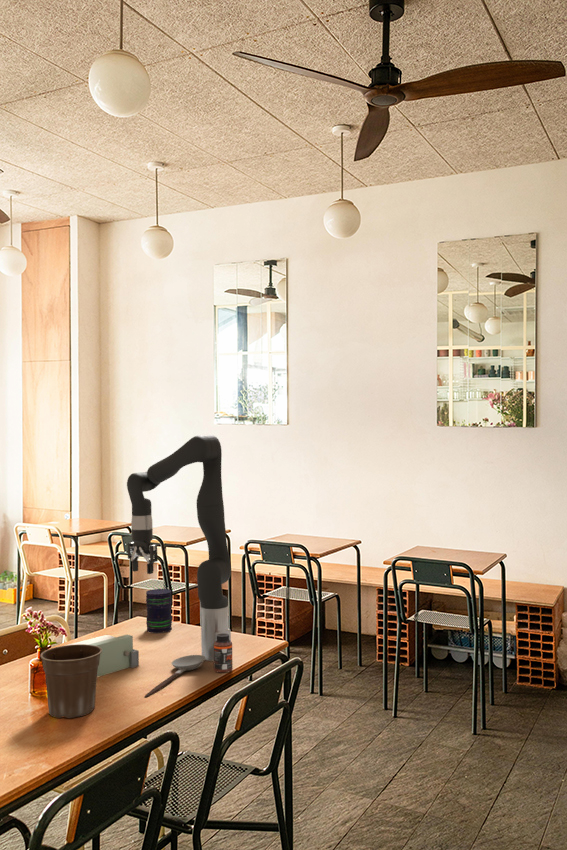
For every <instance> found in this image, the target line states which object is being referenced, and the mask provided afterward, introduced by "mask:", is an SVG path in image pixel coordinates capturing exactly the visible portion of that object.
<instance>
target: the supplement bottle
mask: <svg viewBox="0 0 567 850" xmlns="http://www.w3.org/2000/svg"><path fill="white" fill-rule="evenodd" d="M213 670H214V672H216V673H221V674H223V673H229V672H231V671H232V670H233V642H232V640H231V641H230V640H229V634H226V633H221V634H217V641H215V642H214V661H213Z"/></svg>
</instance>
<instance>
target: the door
mask: <svg viewBox="0 0 567 850" xmlns="http://www.w3.org/2000/svg"><path fill="white" fill-rule="evenodd" d="M114 637H115V638H112V639H108V640H104V641H100V642H96V643H92V644H89V645H94V646H98V647H100V648H101V649H102V653H101V654H100V661H99V666H98V671H97V678H99V677H102V676H105V675H108V674H112V673H116V672H118V671H122V670H125V669H129V668H130V652H132V651H133V649H134V641H133V640H134V637H133V635H131V634H124V635H119V636H114Z"/></svg>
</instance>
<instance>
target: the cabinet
mask: <svg viewBox="0 0 567 850" xmlns="http://www.w3.org/2000/svg"><path fill="white" fill-rule="evenodd" d="M115 637H116V636H115V635H114V636H113V635H109V634H104V635H100V636H97V637H92V638H89V639H84V640H82V641H78V642H77V641H76V642H73V643H68V645H77V644H86V645H89V644H92V643H96V642H100V641H104V640H108V639H112V638H115ZM66 645H67V644H66ZM66 645H64V646H66ZM139 652H140V651H139V650H138V649H135V648H133V651H132V652H130V667H129V668H131V669H134V668H136V667H140V660H139V659H140V658H139V657H140V654H139Z"/></svg>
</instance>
